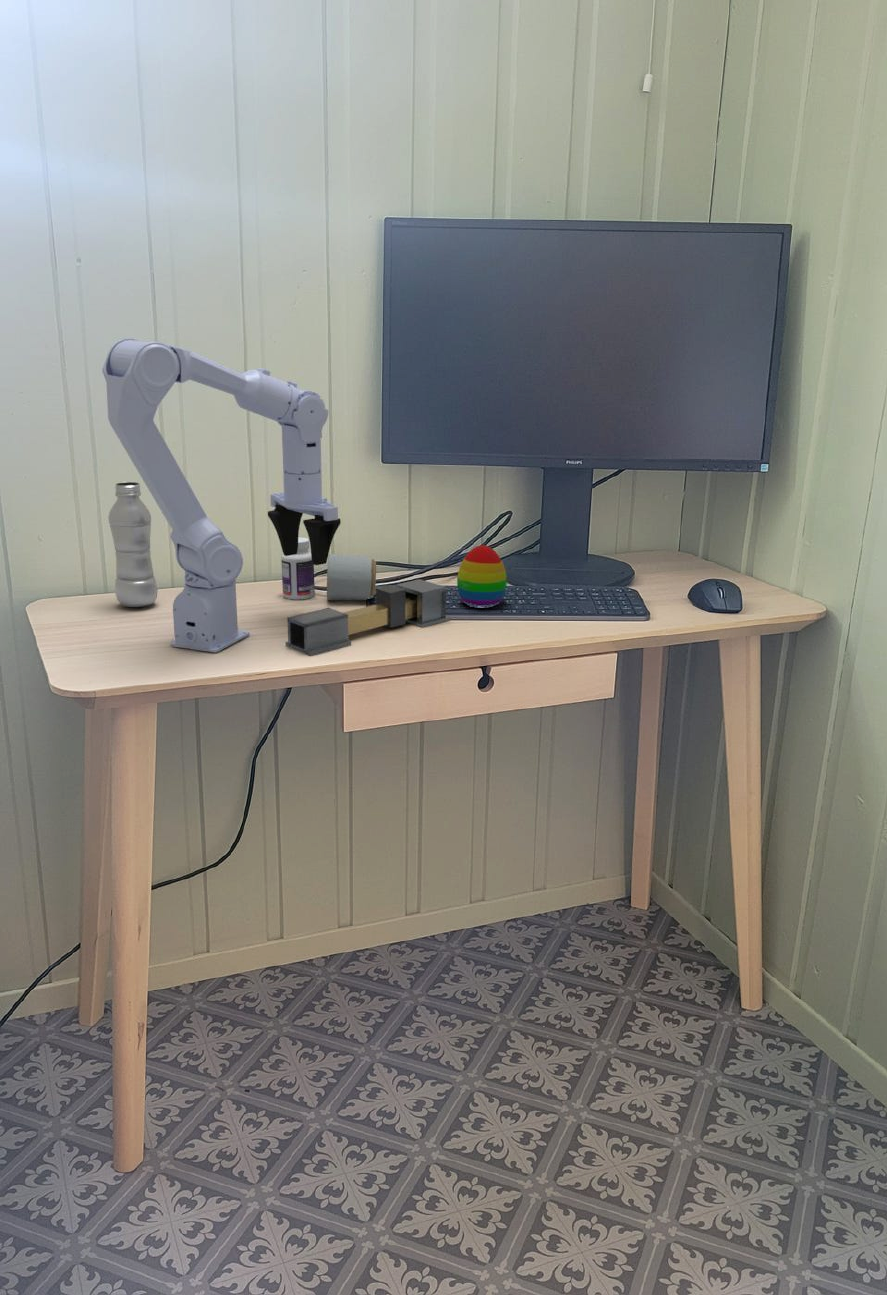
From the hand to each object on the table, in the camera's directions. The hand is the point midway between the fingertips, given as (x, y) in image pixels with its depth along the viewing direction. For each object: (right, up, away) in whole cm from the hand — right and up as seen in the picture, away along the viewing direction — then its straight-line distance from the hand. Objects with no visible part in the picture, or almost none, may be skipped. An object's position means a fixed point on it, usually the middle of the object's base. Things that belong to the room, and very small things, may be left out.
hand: (304, 559), depth 168 cm
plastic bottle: (-29, -7, +10) cm, 31 cm away
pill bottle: (-3, -5, +17) cm, 18 cm away
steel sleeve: (+3, -13, -8) cm, 16 cm away
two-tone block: (+12, -10, -1) cm, 16 cm away
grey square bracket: (+18, -9, +5) cm, 21 cm away
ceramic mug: (+6, -5, +16) cm, 18 cm away
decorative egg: (+28, -7, +13) cm, 31 cm away
